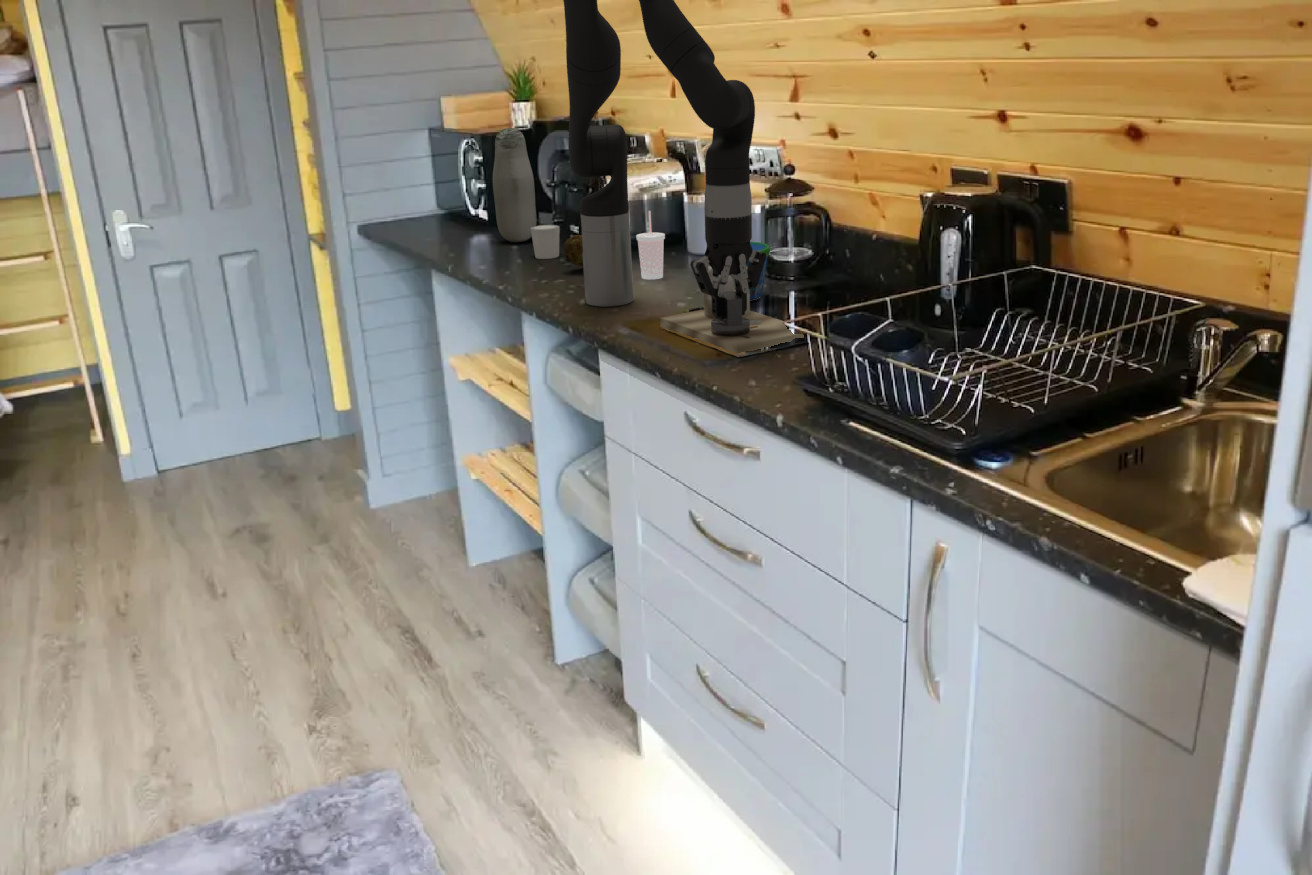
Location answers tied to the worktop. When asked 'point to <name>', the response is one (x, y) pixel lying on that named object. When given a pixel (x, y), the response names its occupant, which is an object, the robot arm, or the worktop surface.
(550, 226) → the white tapered cup
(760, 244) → the snack cup
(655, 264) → the beverage cup
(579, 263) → the potato
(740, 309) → the dark grey rotary knob
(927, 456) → the worktop surface
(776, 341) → the base
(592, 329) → the worktop surface
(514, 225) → the grey bottle
